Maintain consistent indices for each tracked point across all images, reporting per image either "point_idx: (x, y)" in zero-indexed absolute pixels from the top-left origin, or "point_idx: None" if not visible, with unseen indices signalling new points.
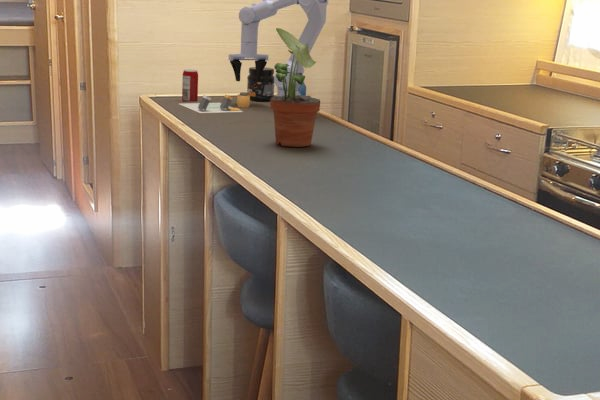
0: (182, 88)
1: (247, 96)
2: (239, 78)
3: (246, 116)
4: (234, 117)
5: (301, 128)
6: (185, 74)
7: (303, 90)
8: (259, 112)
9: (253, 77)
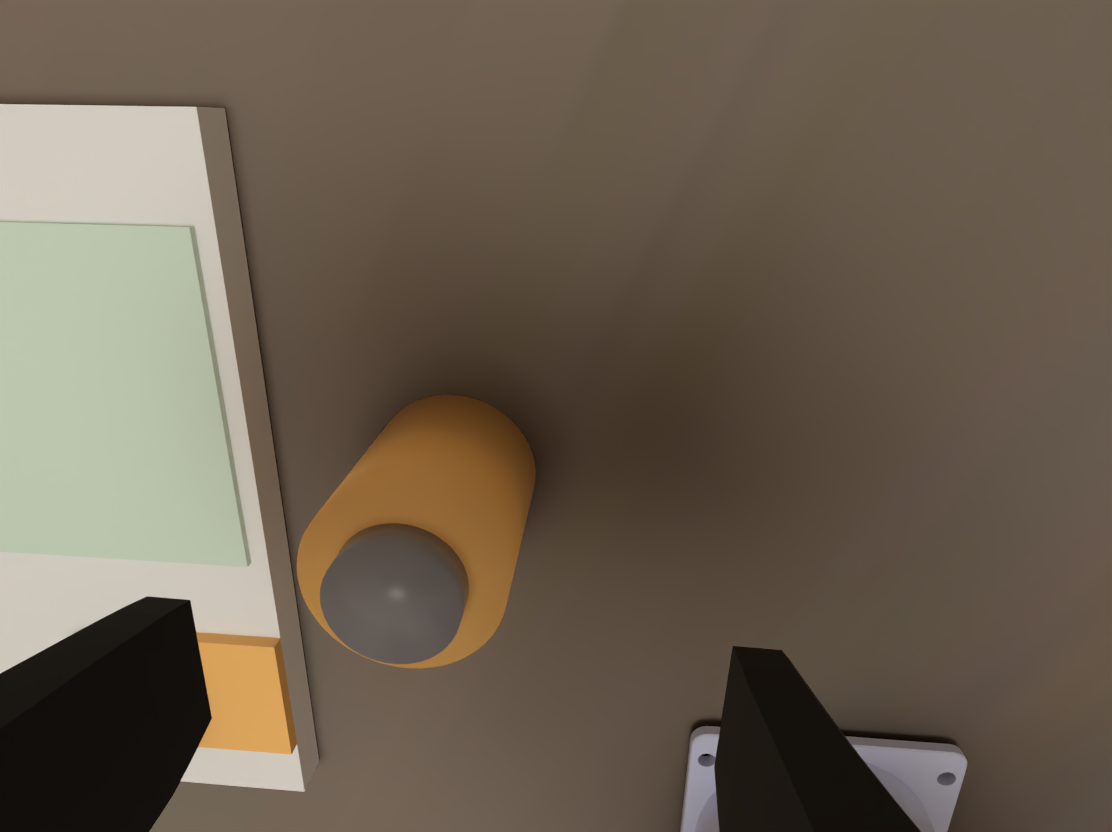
0: None
1: (430, 661)
2: (151, 793)
3: (329, 806)
4: (196, 818)
5: None
6: None
7: None
8: (574, 661)
9: None
